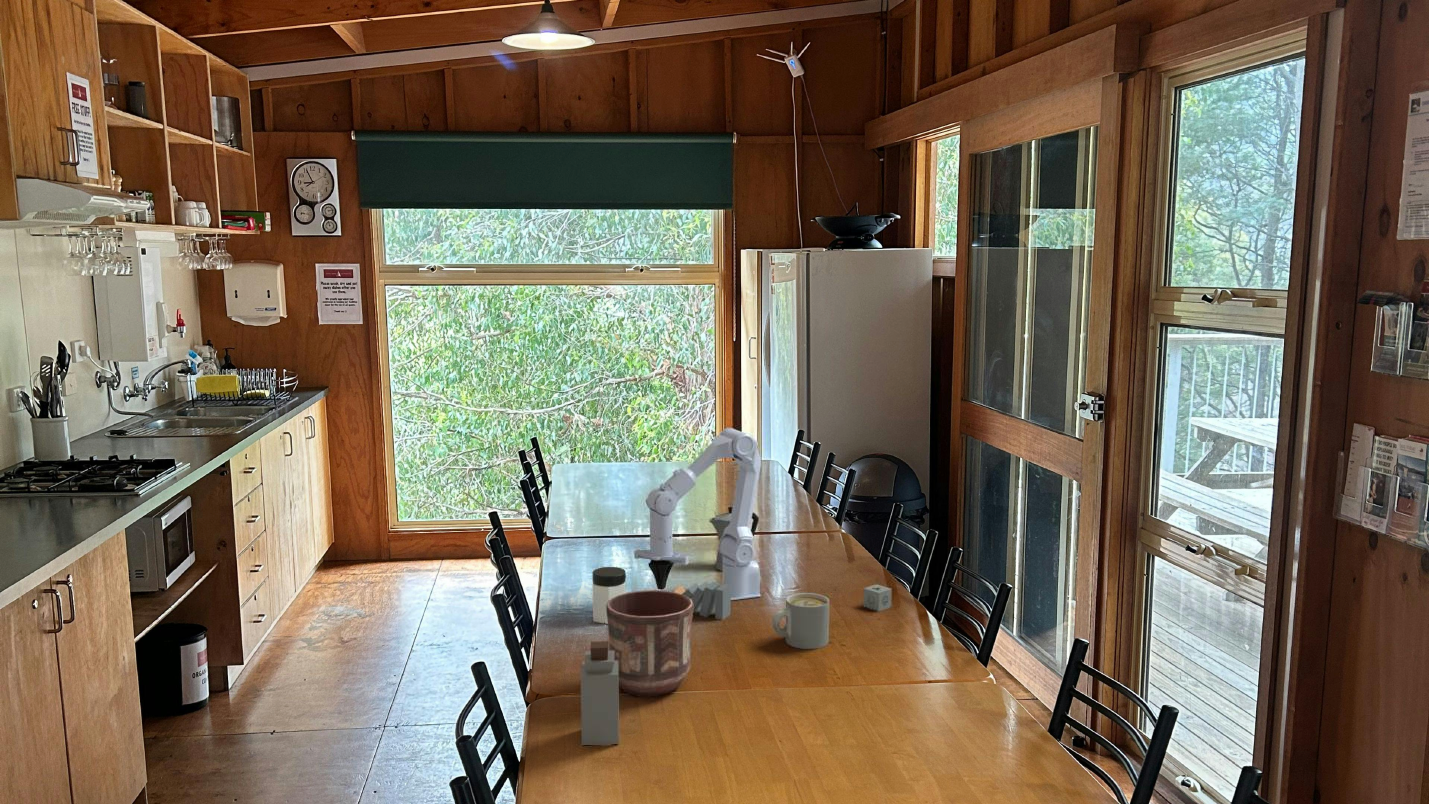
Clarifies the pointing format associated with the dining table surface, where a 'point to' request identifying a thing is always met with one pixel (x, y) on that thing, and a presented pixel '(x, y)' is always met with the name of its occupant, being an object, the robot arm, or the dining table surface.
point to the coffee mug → (804, 621)
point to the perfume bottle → (599, 696)
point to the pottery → (650, 640)
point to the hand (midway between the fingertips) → (661, 588)
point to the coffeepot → (720, 524)
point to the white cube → (877, 597)
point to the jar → (606, 589)
